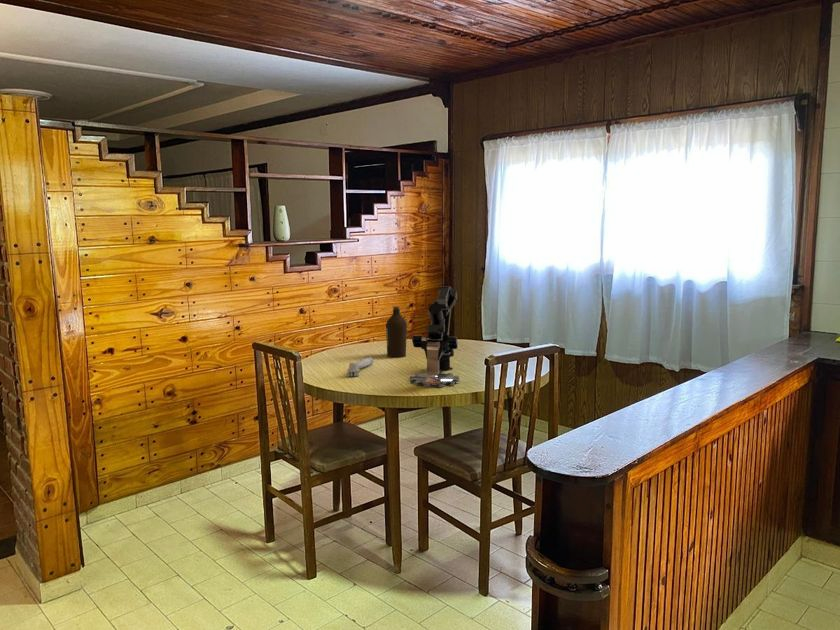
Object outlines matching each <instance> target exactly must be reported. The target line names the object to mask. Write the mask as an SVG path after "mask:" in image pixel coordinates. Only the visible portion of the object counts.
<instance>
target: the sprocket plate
mask: <svg viewBox="0 0 840 630" xmlns="http://www.w3.org/2000/svg"><path fill="white" fill-rule="evenodd" d="M409 382H410V383H409ZM454 382H459V383H460V376H459V375H454V374H453V373H452V372H451V373H450V372H448V373H444V372H442V371H439V374H438V375H427V371H425V373H419V372H416V373H414V375H412V374H411V375H409V378H408V383H409V384H414V386H415V385H416V387H420V386H423V385H425V386H424V387H425V388H426V387H429V389H431V387H438V388H439V387H443V388H444V386H443V385H446V386H448V385H454V386H455V383H454ZM419 385H420V386H419Z"/></svg>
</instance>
